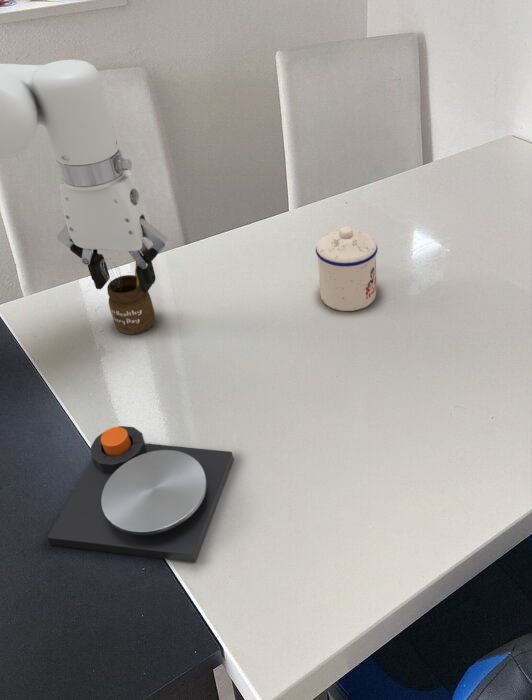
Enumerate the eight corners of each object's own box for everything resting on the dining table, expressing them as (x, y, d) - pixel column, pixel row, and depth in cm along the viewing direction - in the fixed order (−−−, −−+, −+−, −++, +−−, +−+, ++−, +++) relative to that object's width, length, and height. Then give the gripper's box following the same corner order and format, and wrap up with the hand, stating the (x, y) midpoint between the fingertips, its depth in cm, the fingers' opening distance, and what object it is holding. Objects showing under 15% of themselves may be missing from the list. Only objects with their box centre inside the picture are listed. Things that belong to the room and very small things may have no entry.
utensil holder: (125, 309, 104) (105, 241, 96) (164, 313, 103) (147, 244, 95) (108, 333, 100) (86, 264, 92) (149, 337, 99) (130, 267, 91)
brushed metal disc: (84, 529, 70) (82, 525, 69) (127, 449, 78) (126, 445, 78) (187, 541, 68) (185, 537, 68) (219, 458, 76) (218, 454, 76)
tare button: (100, 455, 78) (96, 444, 77) (111, 436, 80) (107, 425, 79) (124, 457, 77) (121, 447, 76) (135, 438, 80) (131, 428, 79)
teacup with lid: (380, 311, 102) (379, 244, 94) (319, 314, 102) (314, 247, 94) (374, 268, 111) (373, 203, 104) (318, 270, 111) (314, 206, 103)
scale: (50, 545, 72) (41, 528, 70) (110, 441, 83) (103, 423, 81) (195, 563, 70) (190, 546, 68) (236, 453, 81) (232, 436, 79)
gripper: (167, 157, 87) (192, 274, 99) (42, 152, 89) (81, 267, 101) (145, 183, 81) (174, 304, 93) (12, 177, 84) (57, 296, 95)
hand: (125, 284), depth 97 cm, fingers closed on utensil holder, 6 cm apart
